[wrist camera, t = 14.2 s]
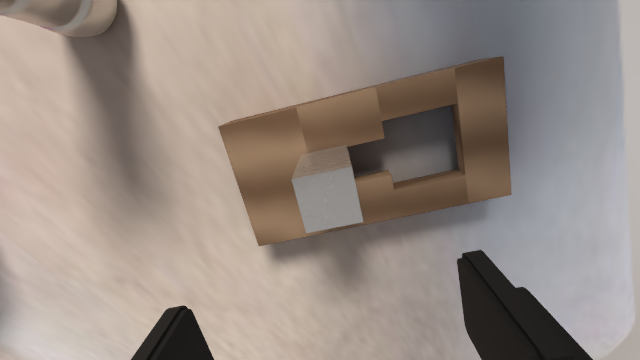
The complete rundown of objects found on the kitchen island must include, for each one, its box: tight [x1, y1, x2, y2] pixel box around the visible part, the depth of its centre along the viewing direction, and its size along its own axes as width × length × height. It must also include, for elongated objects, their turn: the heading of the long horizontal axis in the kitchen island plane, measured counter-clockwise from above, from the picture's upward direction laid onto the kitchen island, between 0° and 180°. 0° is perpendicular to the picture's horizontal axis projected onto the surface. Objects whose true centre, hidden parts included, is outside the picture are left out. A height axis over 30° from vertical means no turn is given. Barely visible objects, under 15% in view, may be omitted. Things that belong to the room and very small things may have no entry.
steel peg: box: [292, 145, 363, 233], centre depth 26 cm, size 4×4×12 cm
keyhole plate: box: [219, 56, 511, 246], centre depth 29 cm, size 12×24×4 cm, turn 103°
